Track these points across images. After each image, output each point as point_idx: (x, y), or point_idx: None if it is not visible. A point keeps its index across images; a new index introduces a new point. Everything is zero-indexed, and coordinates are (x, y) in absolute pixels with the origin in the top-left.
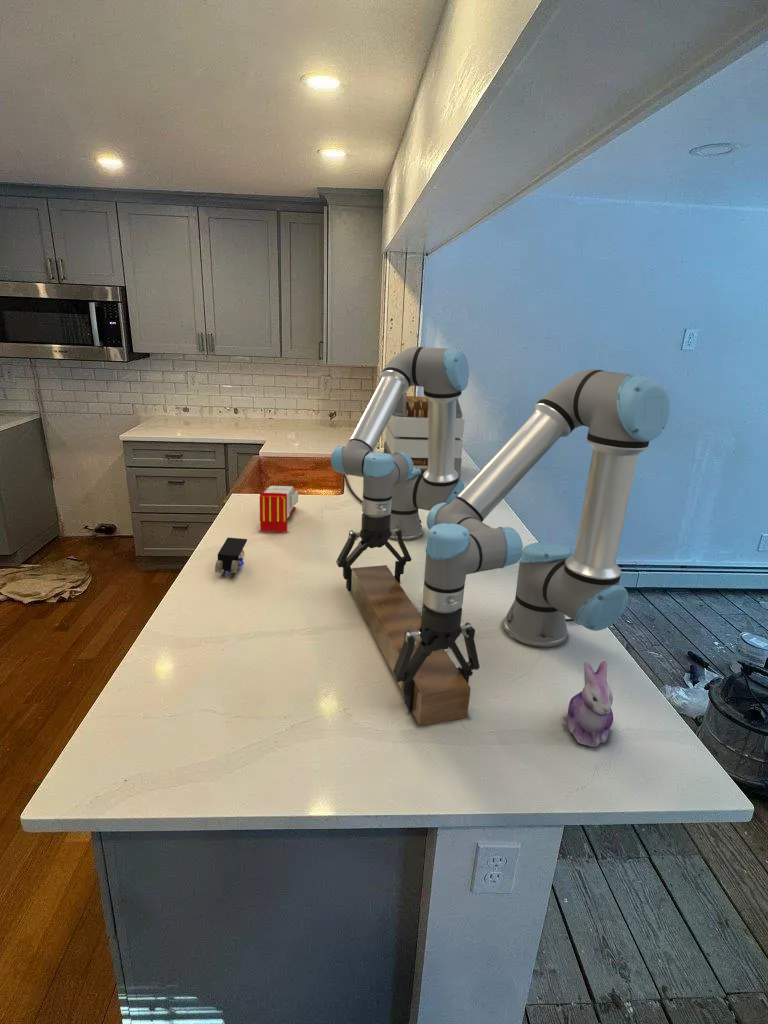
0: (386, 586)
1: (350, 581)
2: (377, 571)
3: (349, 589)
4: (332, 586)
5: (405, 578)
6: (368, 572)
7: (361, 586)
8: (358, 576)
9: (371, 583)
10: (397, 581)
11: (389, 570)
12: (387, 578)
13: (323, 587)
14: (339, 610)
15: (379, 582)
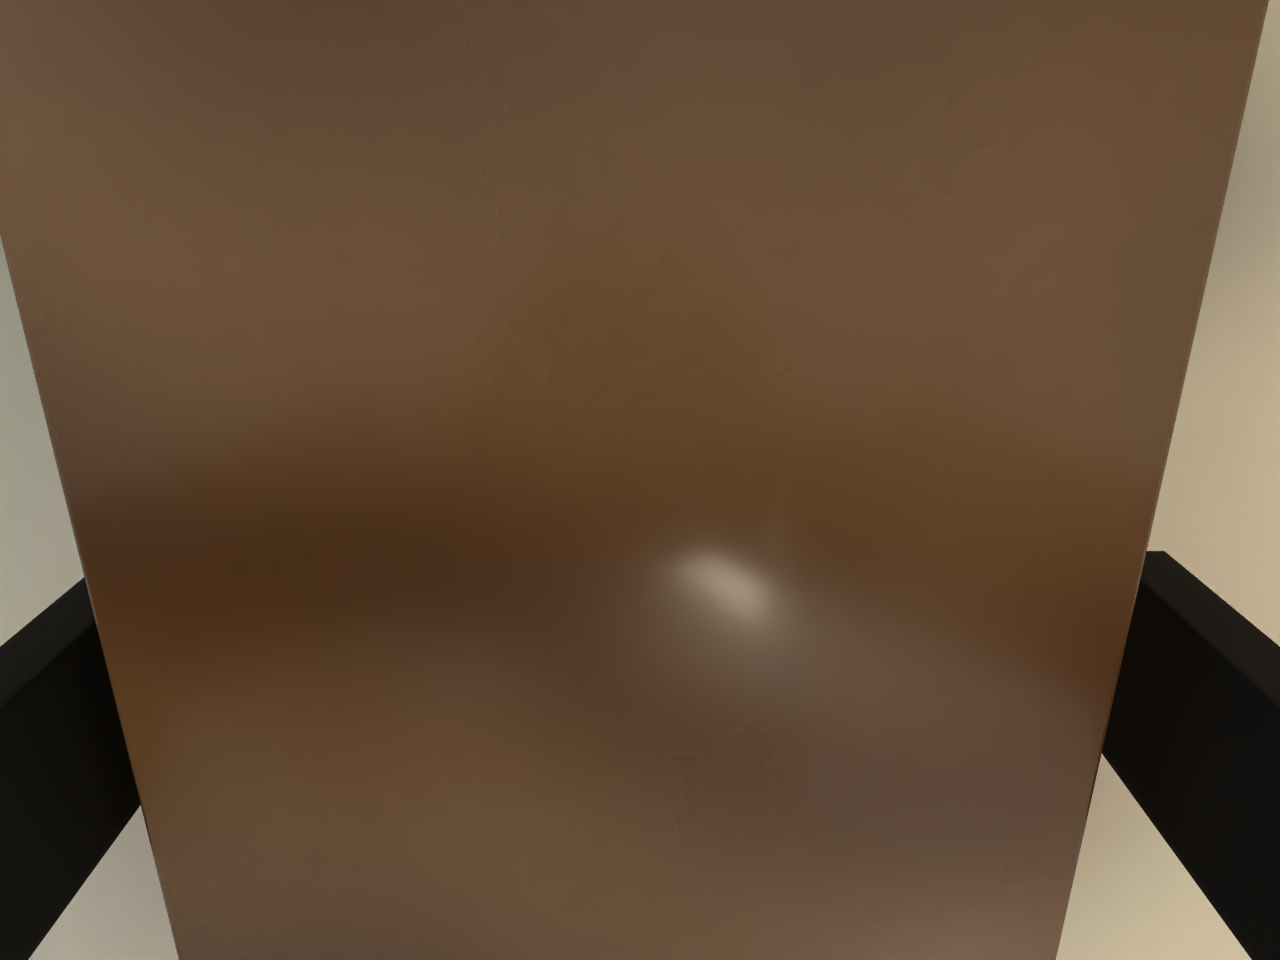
0: (449, 75)
1: (1266, 673)
2: (496, 948)
3: (1168, 571)
4: (1064, 921)
5: (46, 948)
6: (724, 940)
7: (1195, 290)
8: (1036, 811)
9: (854, 387)
10: (35, 353)
11: (191, 946)
12: (314, 584)
13: (1184, 917)
14: (1263, 287)
15: (602, 399)
